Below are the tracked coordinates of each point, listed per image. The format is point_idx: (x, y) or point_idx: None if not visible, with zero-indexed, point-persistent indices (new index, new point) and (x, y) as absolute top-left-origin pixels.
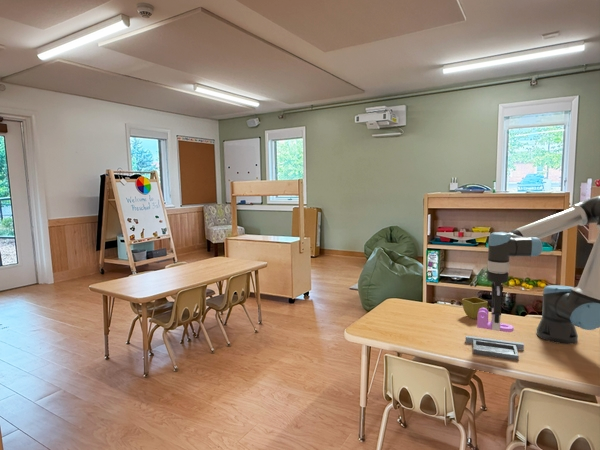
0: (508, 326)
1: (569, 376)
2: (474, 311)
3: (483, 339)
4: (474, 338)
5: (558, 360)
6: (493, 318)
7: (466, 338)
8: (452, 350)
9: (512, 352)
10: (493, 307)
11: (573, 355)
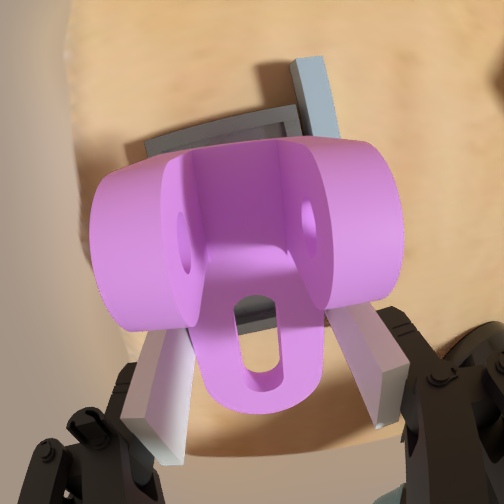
0: (265, 392)
1: (194, 430)
2: None
3: None
4: (307, 109)
5: (295, 409)
6: (137, 379)
7: (295, 65)
8: (136, 41)
9: (264, 304)
10: (415, 386)
11: (352, 422)
